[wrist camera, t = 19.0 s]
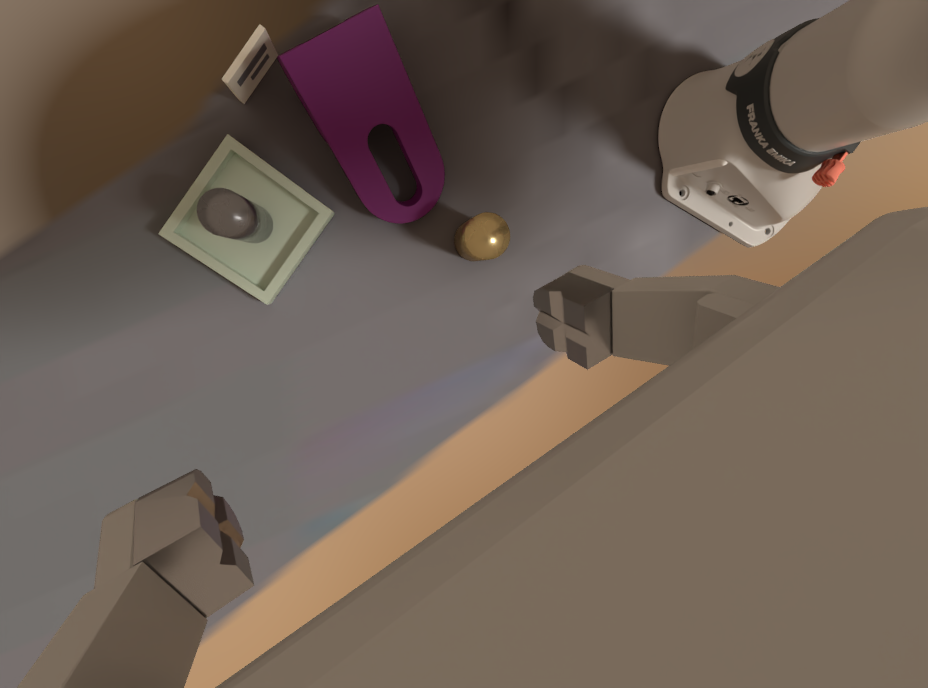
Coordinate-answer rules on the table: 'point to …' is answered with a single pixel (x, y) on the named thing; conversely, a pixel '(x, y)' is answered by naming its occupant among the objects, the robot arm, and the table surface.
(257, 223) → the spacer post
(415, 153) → the mounting bracket
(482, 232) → the gold metallic cylinder
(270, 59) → the label tile
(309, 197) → the parts tray
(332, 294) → the table surface
